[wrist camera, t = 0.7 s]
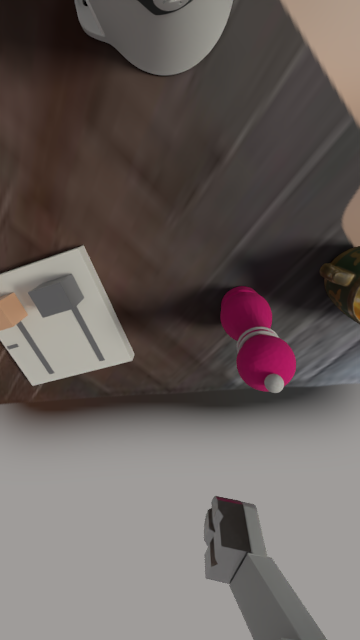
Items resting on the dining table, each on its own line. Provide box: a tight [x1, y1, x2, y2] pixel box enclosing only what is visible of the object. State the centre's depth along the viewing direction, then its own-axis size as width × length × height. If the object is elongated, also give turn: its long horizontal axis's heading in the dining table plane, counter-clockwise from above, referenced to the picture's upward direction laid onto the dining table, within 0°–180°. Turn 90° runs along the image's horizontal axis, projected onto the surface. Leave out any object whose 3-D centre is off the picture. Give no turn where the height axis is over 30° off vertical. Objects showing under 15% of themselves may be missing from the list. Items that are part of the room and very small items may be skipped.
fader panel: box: [0, 245, 134, 386], centre depth 44 cm, size 20×20×2 cm
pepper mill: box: [220, 286, 296, 393], centre depth 33 cm, size 7×7×20 cm
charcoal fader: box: [28, 274, 84, 318], centre depth 38 cm, size 4×5×4 cm
